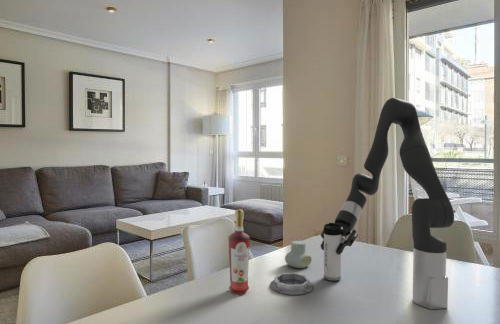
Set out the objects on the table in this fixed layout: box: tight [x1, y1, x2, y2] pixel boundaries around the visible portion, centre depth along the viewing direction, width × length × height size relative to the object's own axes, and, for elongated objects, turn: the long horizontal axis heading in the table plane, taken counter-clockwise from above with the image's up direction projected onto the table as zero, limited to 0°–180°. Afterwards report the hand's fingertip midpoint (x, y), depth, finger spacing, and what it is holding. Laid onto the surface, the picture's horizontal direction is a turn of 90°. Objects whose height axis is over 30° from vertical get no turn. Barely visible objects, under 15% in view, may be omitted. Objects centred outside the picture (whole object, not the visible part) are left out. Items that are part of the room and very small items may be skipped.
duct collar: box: [270, 272, 314, 296], centre depth 122 cm, size 15×15×3 cm
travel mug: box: [323, 222, 342, 281], centre depth 128 cm, size 6×7×20 cm
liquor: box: [227, 209, 251, 295], centre depth 117 cm, size 7×7×28 cm
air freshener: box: [284, 240, 313, 269], centre depth 143 cm, size 11×8×10 cm
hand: (329, 251), depth 127 cm, fingers closed on travel mug, 6 cm apart
